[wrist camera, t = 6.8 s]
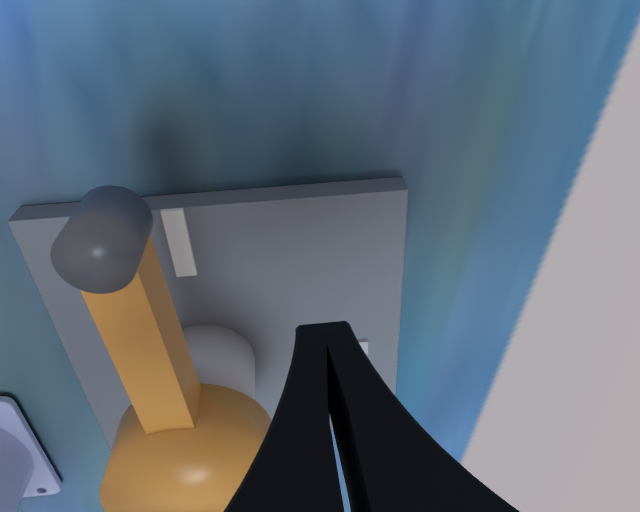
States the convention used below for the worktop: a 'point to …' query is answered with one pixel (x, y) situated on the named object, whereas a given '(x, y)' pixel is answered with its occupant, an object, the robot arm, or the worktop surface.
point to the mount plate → (245, 281)
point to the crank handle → (153, 369)
